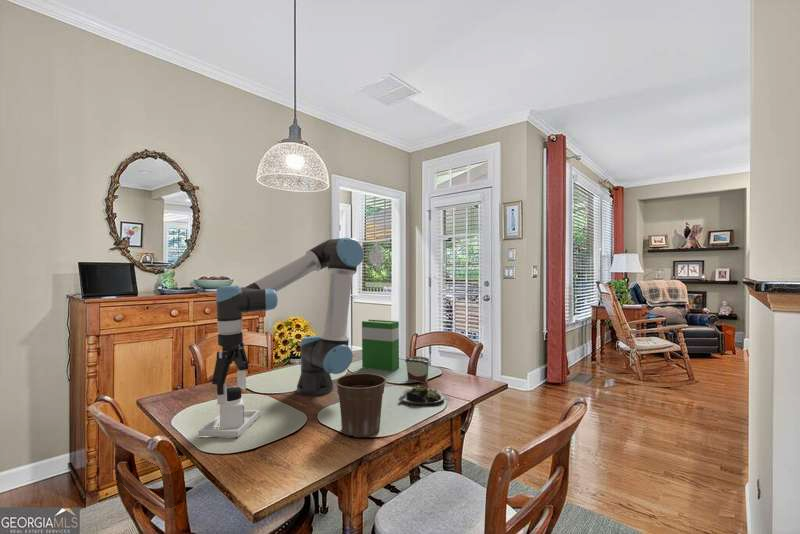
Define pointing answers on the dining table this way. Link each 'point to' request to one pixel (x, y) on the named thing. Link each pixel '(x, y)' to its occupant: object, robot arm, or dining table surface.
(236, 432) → the tray
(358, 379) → the plant pot
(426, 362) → the food container
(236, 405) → the medicine bottle
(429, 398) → the salad plate
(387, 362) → the cereal box
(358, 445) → the dining table surface
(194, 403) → the dining table surface
